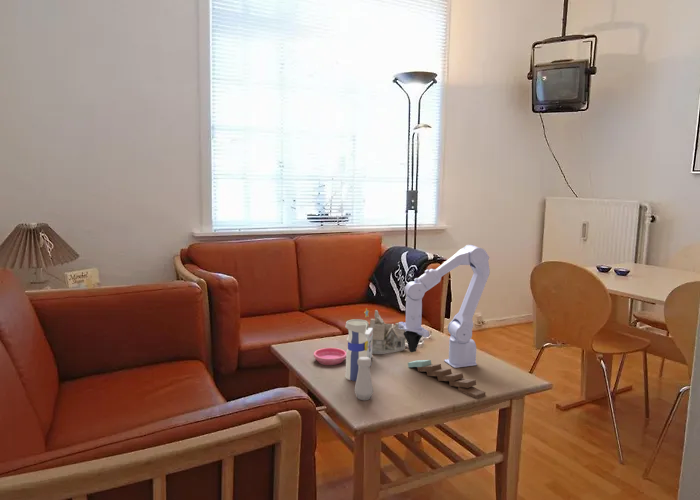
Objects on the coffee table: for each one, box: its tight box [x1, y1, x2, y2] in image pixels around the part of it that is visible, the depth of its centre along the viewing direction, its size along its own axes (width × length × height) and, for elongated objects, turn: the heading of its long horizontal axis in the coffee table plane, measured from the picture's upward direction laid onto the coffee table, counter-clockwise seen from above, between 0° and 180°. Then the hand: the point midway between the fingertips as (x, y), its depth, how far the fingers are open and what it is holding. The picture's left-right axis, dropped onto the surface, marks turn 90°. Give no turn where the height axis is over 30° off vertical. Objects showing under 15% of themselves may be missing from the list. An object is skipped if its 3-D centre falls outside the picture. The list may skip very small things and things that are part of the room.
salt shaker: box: [354, 357, 374, 401], centre depth 166 cm, size 6×6×13 cm
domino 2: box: [416, 363, 443, 373], centre depth 187 cm, size 2×4×8 cm
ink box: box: [365, 328, 373, 360], centre depth 199 cm, size 9×5×12 cm, turn 168°
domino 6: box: [457, 386, 487, 399], centre depth 171 cm, size 2×4×8 cm
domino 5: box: [448, 378, 477, 388], centre depth 175 cm, size 2×4×8 cm
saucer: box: [313, 347, 347, 366], centre depth 199 cm, size 12×12×3 cm
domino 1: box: [407, 359, 432, 368], centre depth 191 cm, size 2×4×8 cm
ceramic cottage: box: [369, 309, 407, 355], centre depth 213 cm, size 16×16×15 cm
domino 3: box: [426, 368, 453, 377], centre depth 183 cm, size 2×4×8 cm
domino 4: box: [436, 372, 464, 382], centre depth 179 cm, size 2×4×8 cm
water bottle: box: [344, 307, 370, 382], centre depth 182 cm, size 8×9×25 cm
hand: (412, 351), depth 194 cm, fingers closed
